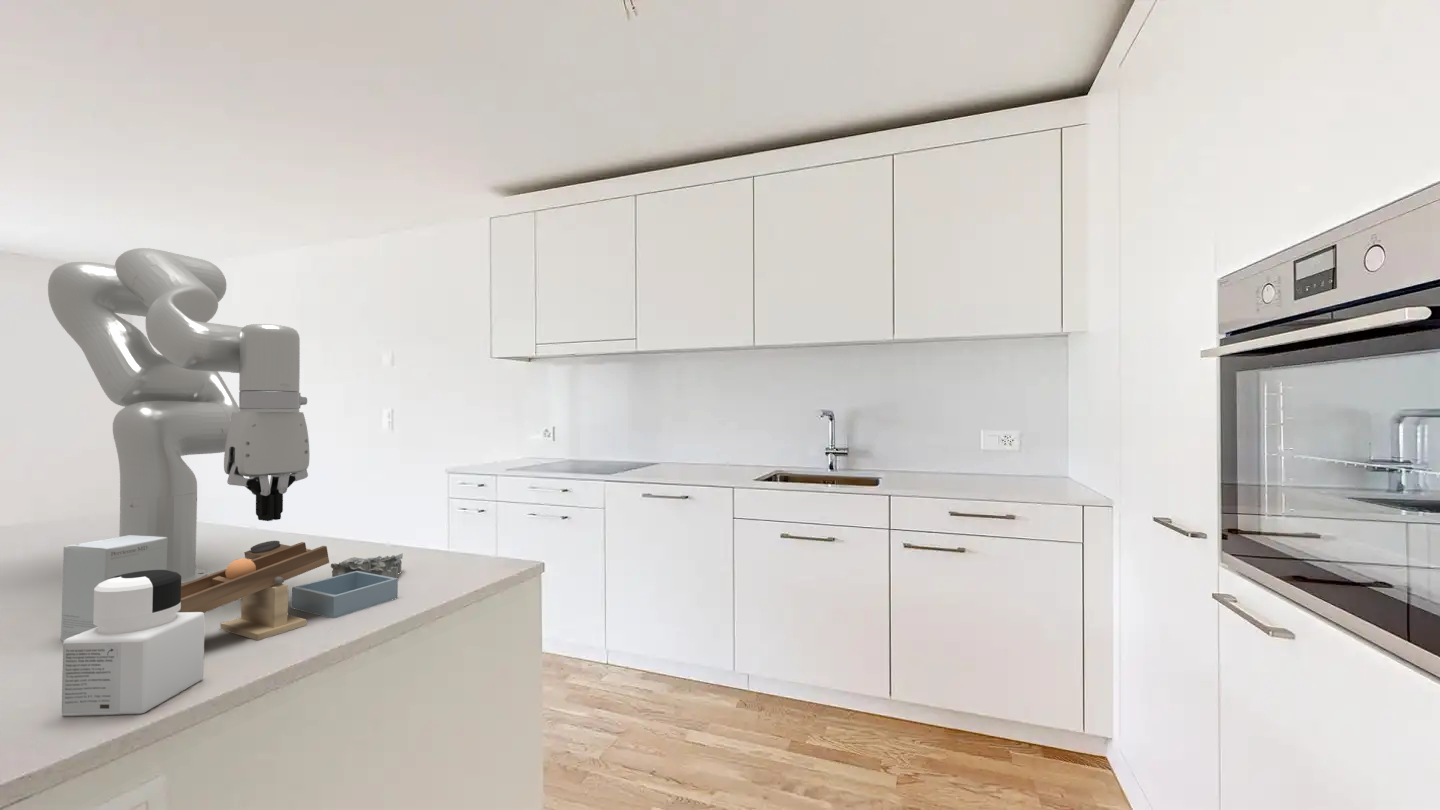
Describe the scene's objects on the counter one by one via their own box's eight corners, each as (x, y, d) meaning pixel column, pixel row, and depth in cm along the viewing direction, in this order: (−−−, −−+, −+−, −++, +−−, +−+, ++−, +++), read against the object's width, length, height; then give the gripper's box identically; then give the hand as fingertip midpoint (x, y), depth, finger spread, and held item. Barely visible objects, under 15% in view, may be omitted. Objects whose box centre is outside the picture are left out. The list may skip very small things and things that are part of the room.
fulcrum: (220, 629, 80) (221, 584, 80) (269, 615, 85) (269, 573, 85) (257, 640, 76) (258, 593, 76) (306, 625, 82) (306, 581, 82)
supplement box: (102, 647, 74) (104, 548, 74) (58, 642, 75) (60, 545, 75) (167, 626, 81) (169, 536, 81) (127, 622, 82) (129, 533, 82)
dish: (291, 610, 89) (291, 587, 89) (356, 591, 98) (357, 570, 98) (333, 620, 85) (333, 596, 85) (397, 600, 94) (397, 578, 94)
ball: (221, 584, 78) (218, 561, 77) (249, 576, 81) (246, 554, 80) (234, 588, 76) (232, 564, 76) (262, 579, 79) (259, 556, 79)
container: (131, 681, 65) (134, 565, 65) (205, 679, 65) (207, 564, 65) (58, 717, 57) (61, 586, 57) (143, 715, 58) (145, 585, 58)
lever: (94, 610, 75) (90, 592, 74) (273, 548, 93) (270, 533, 93) (160, 632, 68) (155, 612, 67) (339, 560, 87) (336, 544, 86)
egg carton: (326, 588, 100) (326, 564, 100) (341, 575, 107) (341, 553, 107) (395, 583, 102) (395, 560, 102) (405, 571, 110) (405, 550, 110)
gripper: (305, 404, 99) (305, 510, 99) (198, 403, 86) (197, 526, 86) (333, 403, 96) (332, 513, 96) (226, 402, 83) (226, 530, 82)
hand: (269, 519), depth 91 cm, fingers closed
